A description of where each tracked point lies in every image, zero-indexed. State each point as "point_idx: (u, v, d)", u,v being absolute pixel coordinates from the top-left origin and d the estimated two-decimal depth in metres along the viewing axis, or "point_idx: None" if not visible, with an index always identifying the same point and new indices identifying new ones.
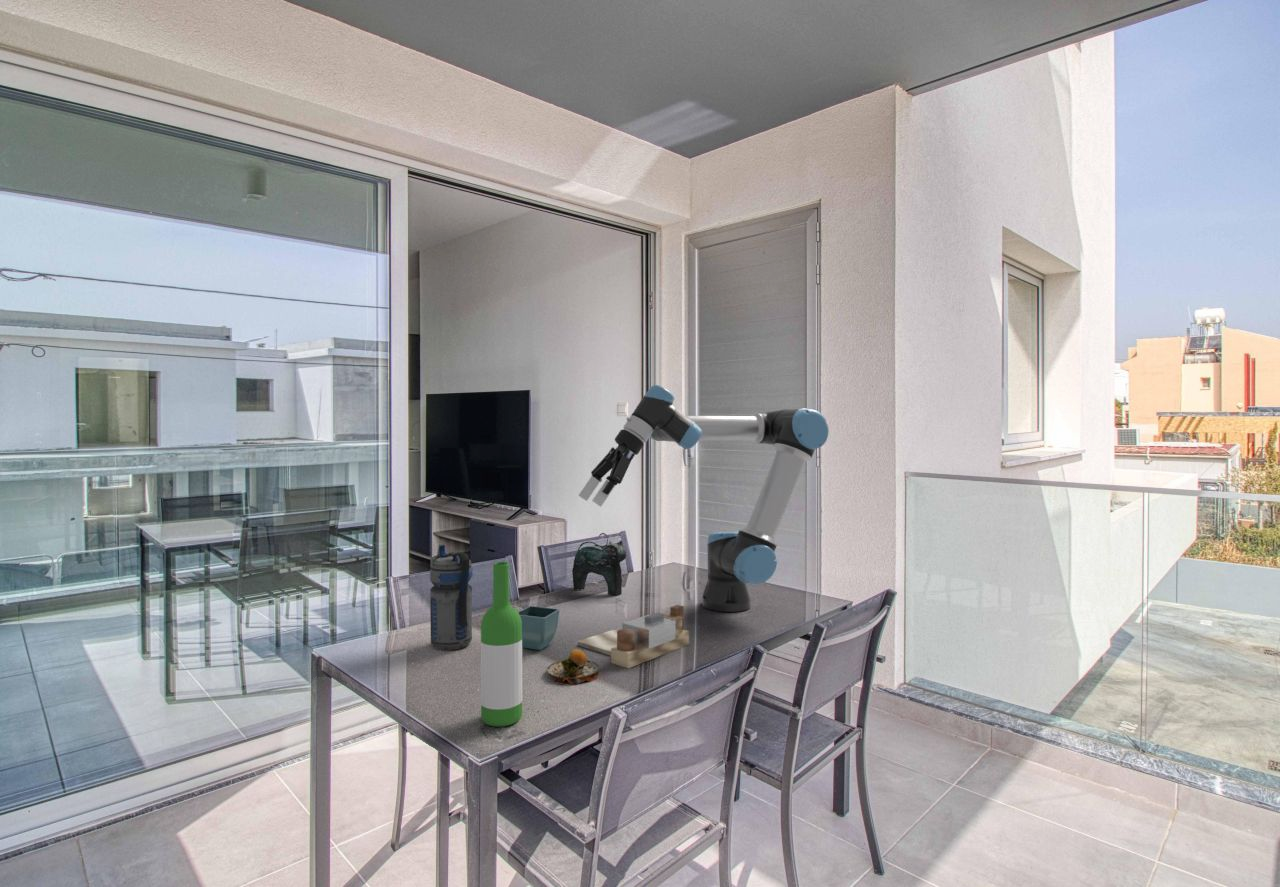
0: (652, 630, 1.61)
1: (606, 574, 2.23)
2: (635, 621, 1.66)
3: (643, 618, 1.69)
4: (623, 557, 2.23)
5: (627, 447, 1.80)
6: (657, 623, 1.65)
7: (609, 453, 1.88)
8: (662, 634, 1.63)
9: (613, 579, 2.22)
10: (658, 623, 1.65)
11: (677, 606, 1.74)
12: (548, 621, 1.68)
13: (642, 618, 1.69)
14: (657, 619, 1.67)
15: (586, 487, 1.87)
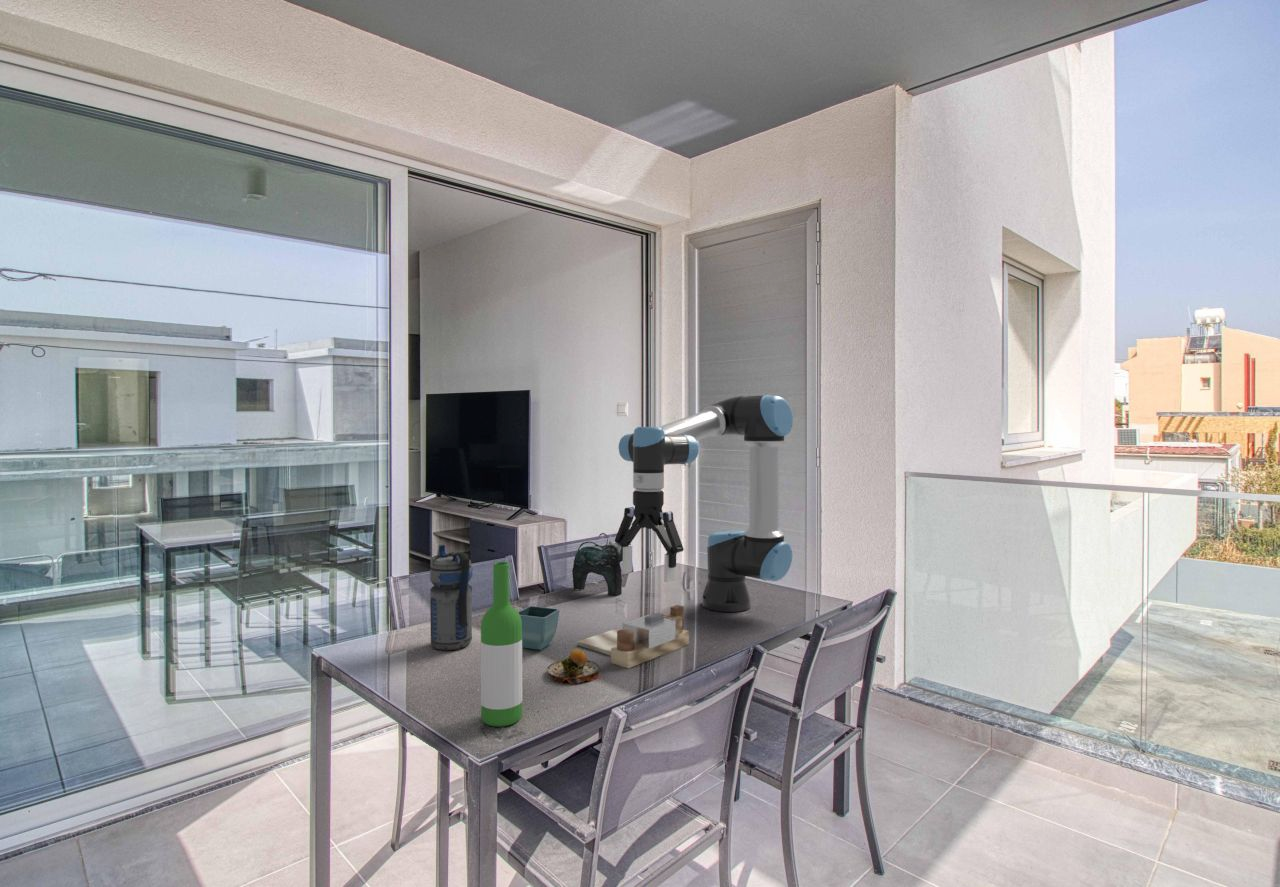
0: (652, 630, 1.61)
1: (606, 574, 2.23)
2: (635, 621, 1.66)
3: (643, 618, 1.69)
4: None
5: (657, 508, 1.63)
6: (657, 623, 1.65)
7: (627, 516, 1.69)
8: (662, 634, 1.63)
9: (613, 579, 2.22)
10: (658, 623, 1.65)
11: (677, 606, 1.74)
12: (548, 621, 1.68)
13: (642, 618, 1.69)
14: (657, 619, 1.67)
15: (626, 561, 1.70)
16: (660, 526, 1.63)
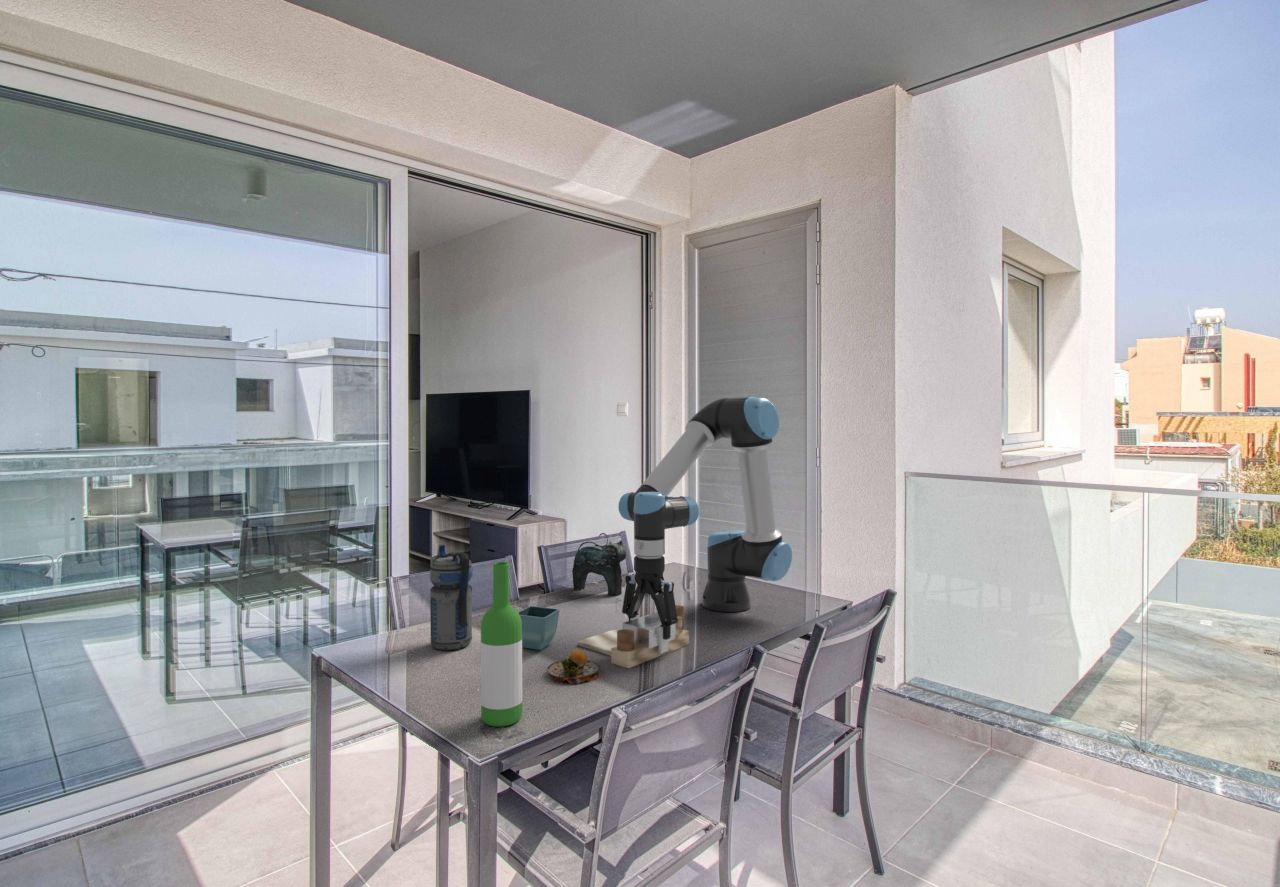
0: (653, 630, 1.61)
1: (606, 574, 2.23)
2: (635, 621, 1.66)
3: (643, 618, 1.69)
4: (623, 557, 2.23)
5: (659, 575, 1.63)
6: (657, 623, 1.65)
7: (629, 583, 1.69)
8: None
9: (613, 579, 2.22)
10: (658, 623, 1.65)
11: (677, 606, 1.74)
12: (548, 621, 1.68)
13: (642, 618, 1.69)
14: (657, 619, 1.67)
15: None
16: (659, 595, 1.64)
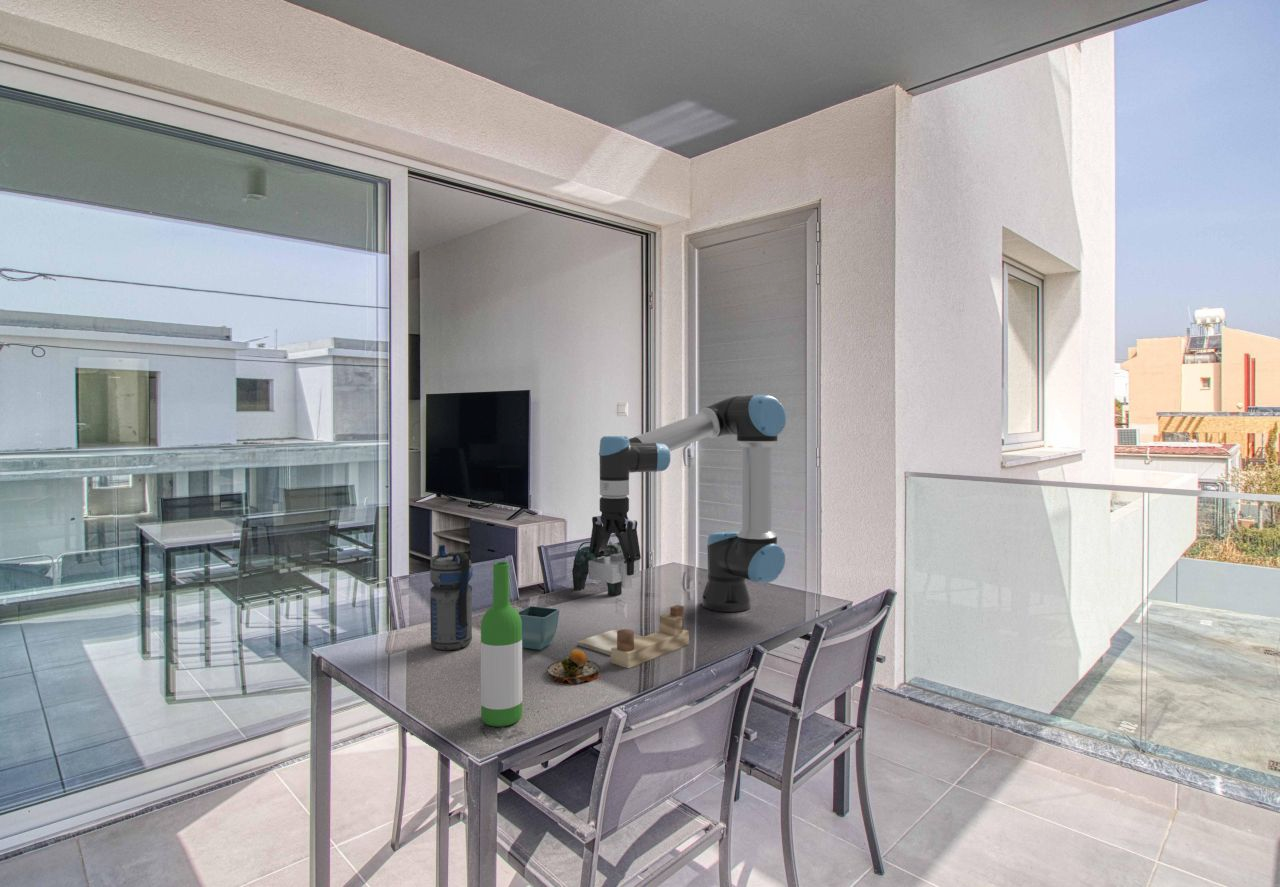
0: (616, 566, 1.68)
1: None
2: (601, 559, 1.74)
3: (609, 557, 1.76)
4: None
5: (623, 514, 1.70)
6: (622, 561, 1.72)
7: (596, 524, 1.76)
8: None
9: None
10: (622, 560, 1.72)
11: (677, 606, 1.74)
12: (548, 621, 1.68)
13: (608, 557, 1.76)
14: (622, 558, 1.74)
15: None
16: (623, 533, 1.71)
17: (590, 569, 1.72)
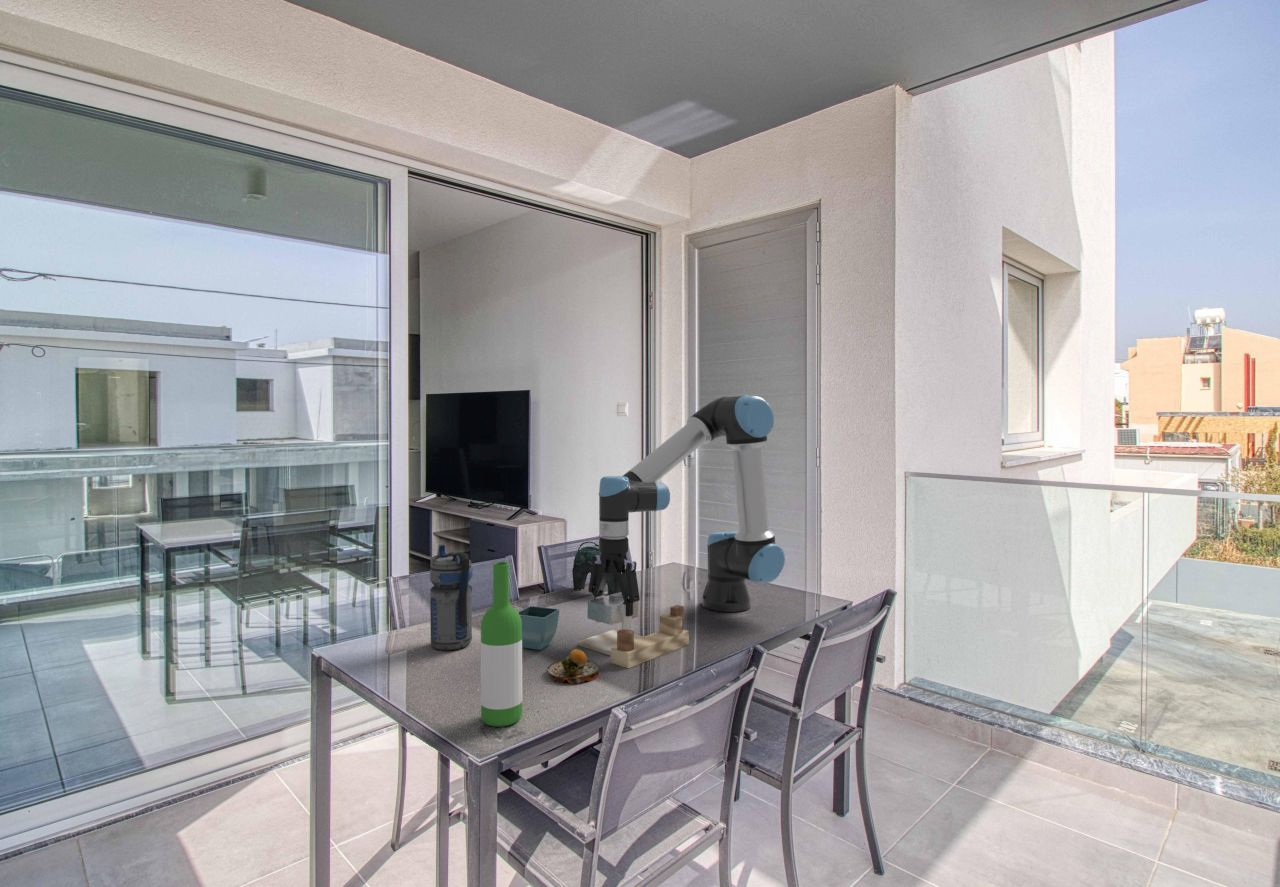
0: (615, 607, 1.68)
1: None
2: (600, 599, 1.74)
3: (608, 597, 1.77)
4: None
5: (622, 555, 1.71)
6: (621, 601, 1.73)
7: (595, 563, 1.76)
8: None
9: (613, 579, 2.22)
10: (621, 601, 1.73)
11: (677, 606, 1.74)
12: (548, 621, 1.68)
13: (607, 597, 1.77)
14: (621, 597, 1.75)
15: None
16: (623, 574, 1.72)
17: (589, 609, 1.72)
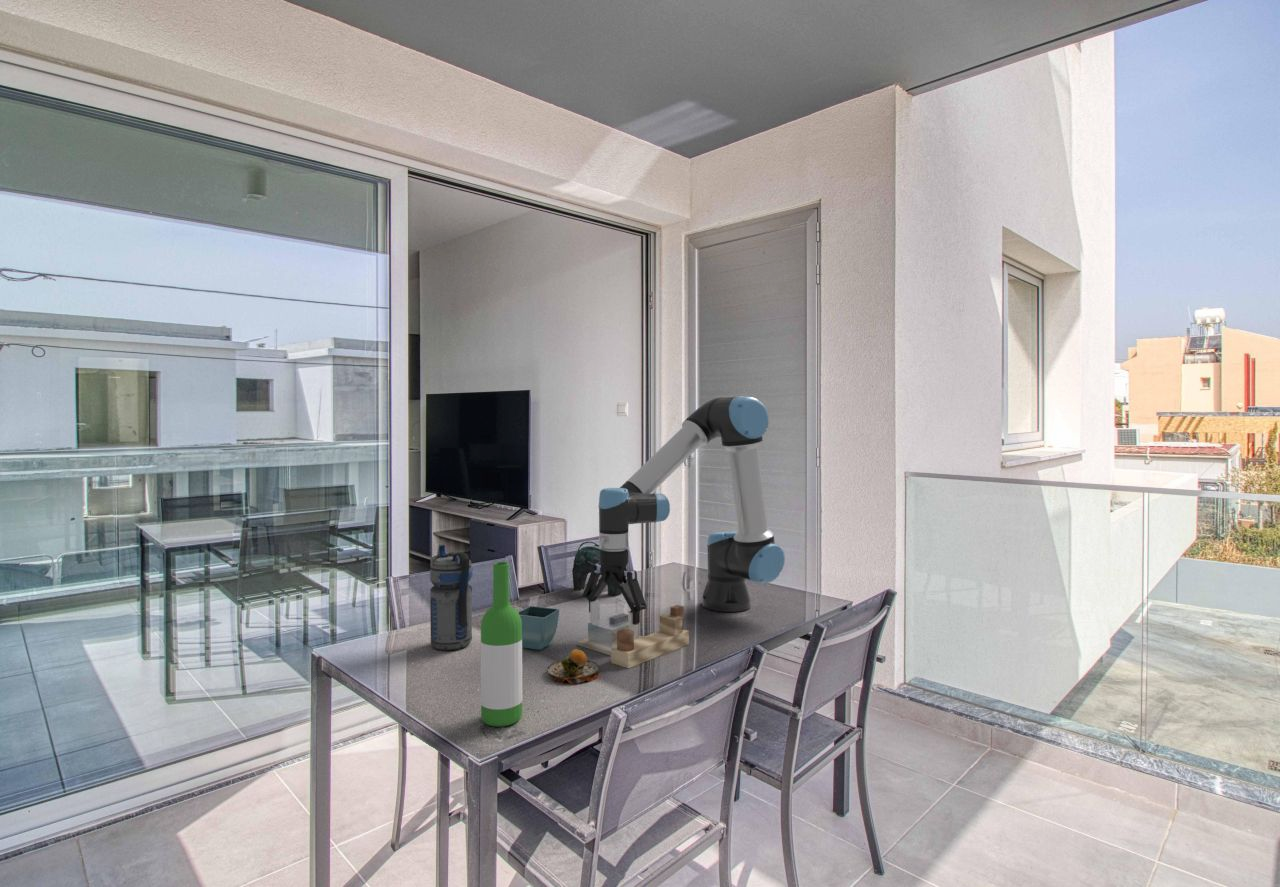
0: (616, 630, 1.69)
1: None
2: (600, 622, 1.74)
3: (608, 619, 1.77)
4: None
5: (622, 567, 1.71)
6: (621, 623, 1.73)
7: (594, 572, 1.77)
8: None
9: None
10: (621, 623, 1.73)
11: (677, 606, 1.74)
12: (548, 621, 1.68)
13: (607, 619, 1.77)
14: (621, 620, 1.75)
15: (593, 615, 1.78)
16: (625, 584, 1.71)
17: (589, 632, 1.73)
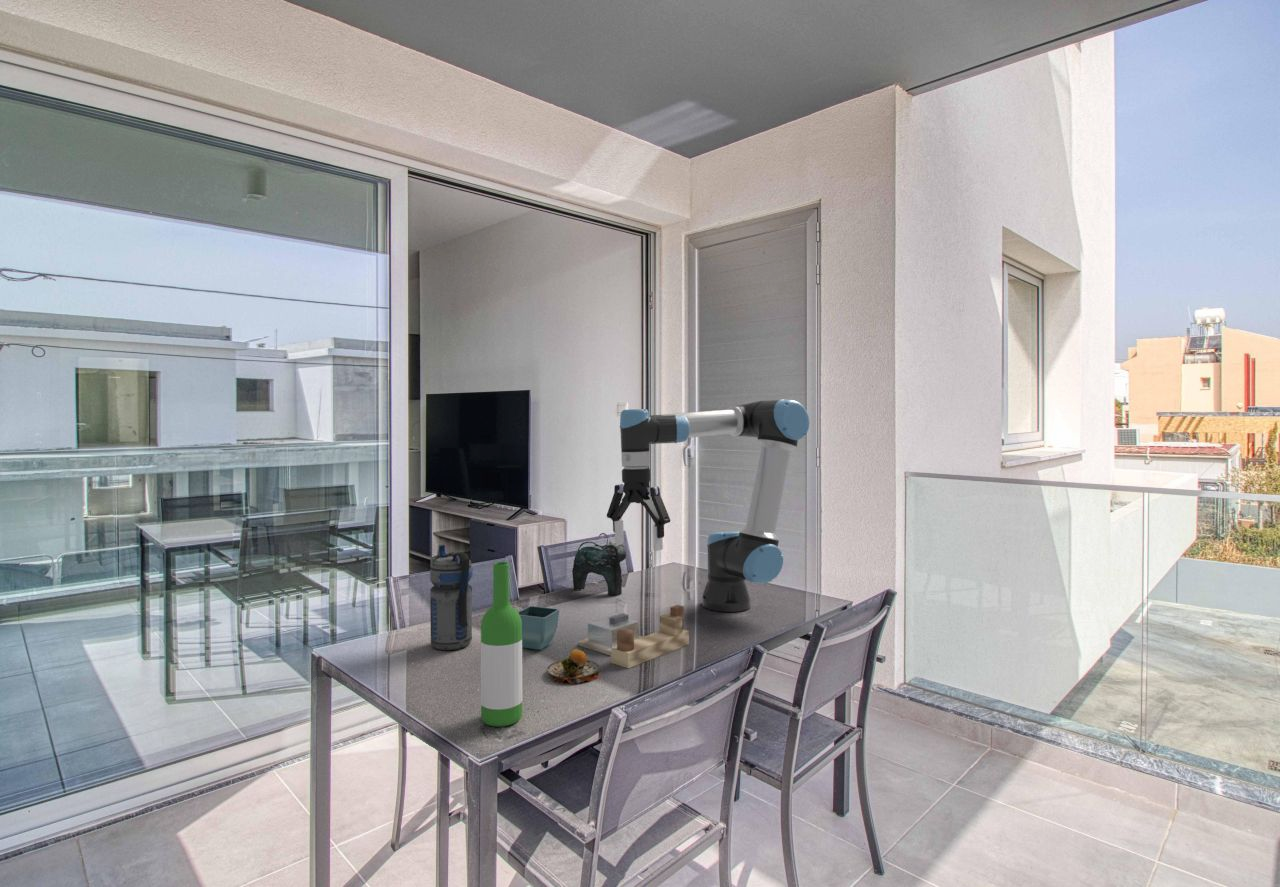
0: (616, 630, 1.69)
1: (606, 574, 2.23)
2: (600, 622, 1.74)
3: (608, 619, 1.77)
4: (623, 557, 2.23)
5: (645, 484, 1.76)
6: (621, 623, 1.73)
7: (617, 492, 1.82)
8: None
9: (613, 579, 2.22)
10: (621, 623, 1.73)
11: (677, 606, 1.74)
12: (548, 621, 1.68)
13: (607, 619, 1.77)
14: (621, 620, 1.75)
15: (618, 534, 1.83)
16: (648, 500, 1.77)
17: (589, 632, 1.73)
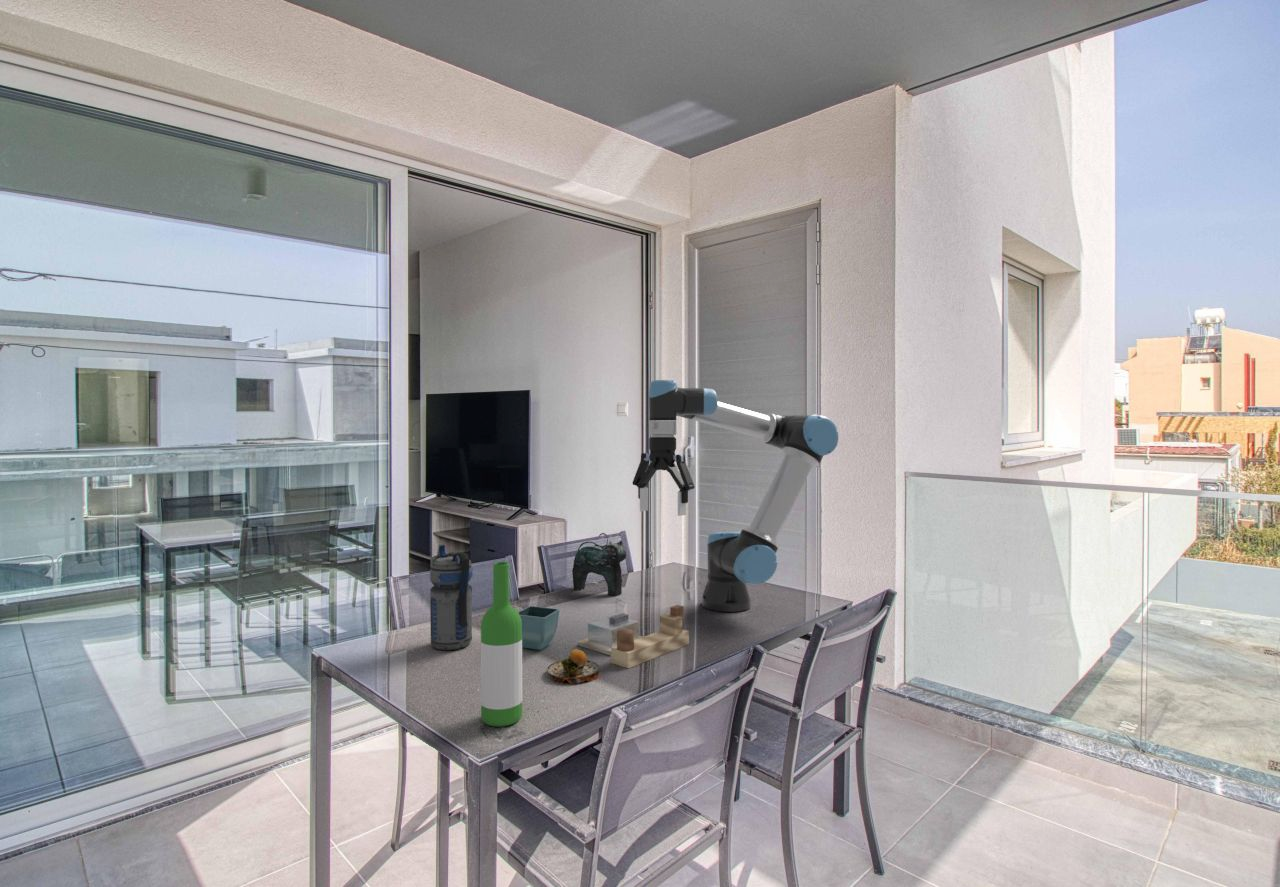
0: (616, 630, 1.69)
1: (606, 574, 2.23)
2: (600, 622, 1.74)
3: (608, 619, 1.77)
4: (623, 557, 2.23)
5: (671, 451, 1.84)
6: (621, 623, 1.73)
7: (644, 460, 1.91)
8: None
9: (613, 579, 2.22)
10: (621, 623, 1.73)
11: (677, 606, 1.74)
12: (548, 621, 1.68)
13: (607, 619, 1.77)
14: (621, 620, 1.75)
15: (642, 500, 1.91)
16: (673, 467, 1.85)
17: (589, 632, 1.73)
